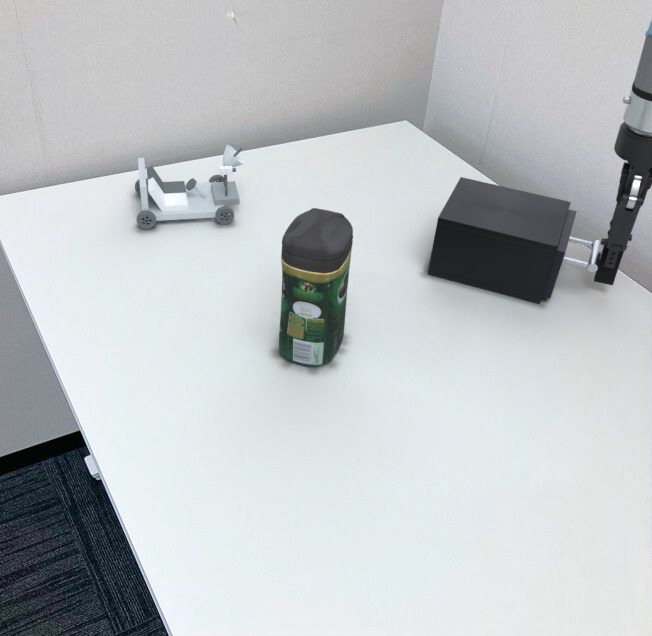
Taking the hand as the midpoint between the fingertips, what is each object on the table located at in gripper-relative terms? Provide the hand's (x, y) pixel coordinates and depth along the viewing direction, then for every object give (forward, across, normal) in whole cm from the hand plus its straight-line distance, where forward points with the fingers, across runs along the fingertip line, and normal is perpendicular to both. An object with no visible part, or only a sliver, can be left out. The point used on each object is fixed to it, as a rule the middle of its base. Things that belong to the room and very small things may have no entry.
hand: (603, 280), depth 110 cm
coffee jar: (+1, +30, -34) cm, 46 cm away
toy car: (-1, +6, -65) cm, 66 cm away
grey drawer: (+1, 0, -12) cm, 12 cm away
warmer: (+1, 0, -16) cm, 16 cm away
